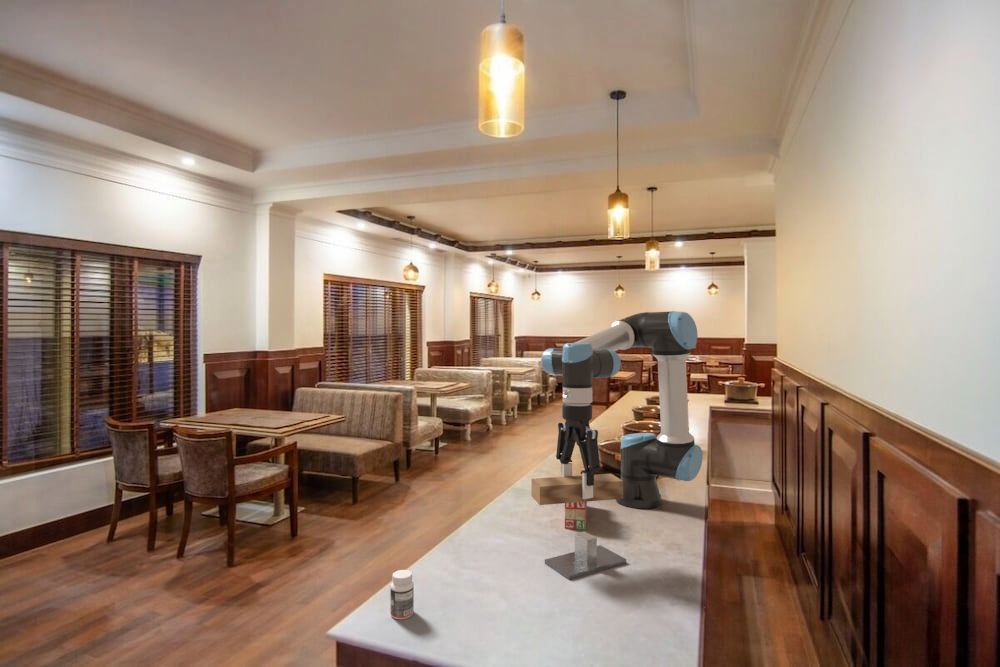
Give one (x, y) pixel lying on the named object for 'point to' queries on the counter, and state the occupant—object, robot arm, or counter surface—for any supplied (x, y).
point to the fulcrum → (584, 558)
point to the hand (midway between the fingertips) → (577, 493)
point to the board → (575, 489)
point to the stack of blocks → (575, 515)
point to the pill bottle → (402, 594)
